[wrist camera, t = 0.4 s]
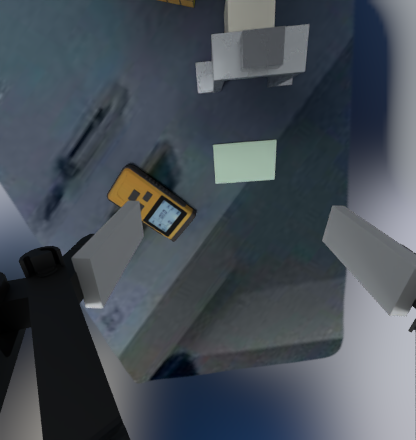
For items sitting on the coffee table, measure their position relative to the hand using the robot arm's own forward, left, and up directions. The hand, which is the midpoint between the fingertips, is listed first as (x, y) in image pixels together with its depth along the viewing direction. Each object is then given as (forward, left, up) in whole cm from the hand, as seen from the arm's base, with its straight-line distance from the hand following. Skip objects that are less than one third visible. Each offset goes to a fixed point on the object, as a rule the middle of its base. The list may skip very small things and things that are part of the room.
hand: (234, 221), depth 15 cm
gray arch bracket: (-12, +4, -27) cm, 30 cm away
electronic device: (+8, -14, -28) cm, 32 cm away
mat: (+1, +4, -27) cm, 27 cm away
